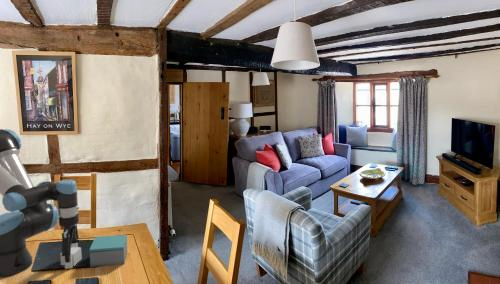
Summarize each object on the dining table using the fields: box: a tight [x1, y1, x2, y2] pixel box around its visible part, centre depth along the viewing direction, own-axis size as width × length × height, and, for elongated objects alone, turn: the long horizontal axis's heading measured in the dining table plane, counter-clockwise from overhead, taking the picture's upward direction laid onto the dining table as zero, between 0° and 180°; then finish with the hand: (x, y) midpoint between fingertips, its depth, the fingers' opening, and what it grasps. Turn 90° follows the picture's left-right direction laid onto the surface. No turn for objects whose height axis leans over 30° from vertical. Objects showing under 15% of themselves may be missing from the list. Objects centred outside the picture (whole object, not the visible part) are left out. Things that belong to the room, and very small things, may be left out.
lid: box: [89, 234, 128, 253], centre depth 146 cm, size 14×12×1 cm
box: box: [89, 238, 128, 268], centre depth 147 cm, size 14×12×7 cm
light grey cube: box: [59, 246, 83, 267], centre depth 143 cm, size 6×6×6 cm
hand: (71, 262), depth 144 cm, fingers open, 9 cm apart
